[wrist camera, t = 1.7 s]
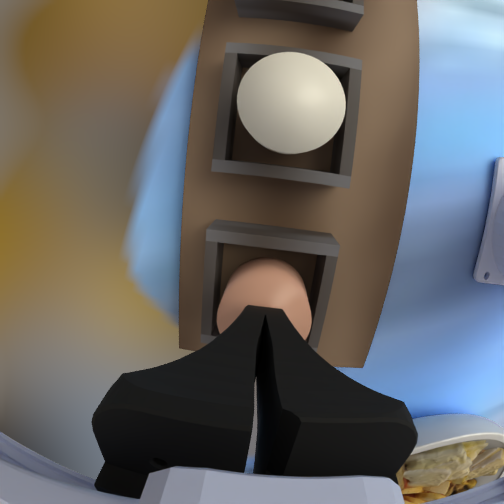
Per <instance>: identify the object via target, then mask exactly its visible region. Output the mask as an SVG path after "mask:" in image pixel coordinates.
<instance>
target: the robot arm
mask: <svg viewBox="0 0 504 504" xmlns="http://www.w3.org/2000/svg"><path fill="white" fill-rule="evenodd" d="M485 273H486V276H485V277H484V275H485ZM473 277H474V279H475V280H476V281H477V282H480V283H488V284H497V285H504V157H498V158H497V159H496V162H495V169H494V177H493V185H492V192H491V198H490V204H489V210H488V215H487V220H486V225H485V230H484V234H483V239H482V243H481V247H480V251H479V255H478V259H477V262H476V266H475V270H474V274H473ZM255 379H256V382H257V419H258V424H257V441H256V452H255V462H254V471H253V474H248V473H244V471H245V466H246V461H247V455H248V450H249V444H250V439H251V433H252V427H253V416H254V383H255ZM92 427H93V432H94V434H95V437H96V440H97V442H98V445H99V447H100V450H101V453H102V455H103V457H104V460H105V463H104V465H103V467H102V469H101V471H100V473H99V475H98V477H97V479H96V480H95V479H92V478H90V477H87V476H85V475H82V474H80V473H78V472H75V471H73V470H71V469H69V468H66V467H64V466H62V465H60V464H58V463H56V462H54V461H51V460H49V459H47V458H45V457H43V456H41V455H40V454H38V453H36V452H34V451H32V450H30V449H28V448H27V447H25V446H23V445H21V444H20V443H18V442H16V441H15V440H13V439H11V438H9V437H8V436H6V435H5V434H3V433H1V432H0V504H405V503H404V499H403V496H402V492H401V489H400V486H399V483H398V479H397V476H396V473H397V472H398V471H399V469H400V468H401V467H402V465H403V464H404V463H405V461H406V460H407V459H408V457H409V456H410V454H411V453H412V452H413V450H414V448H415V446H416V444H417V440H418V432H417V430H416V427H415V425H414V422H413V420H412V417H411V415H410V413H409V411H408V409H407V407H406V405H405V404H404V402H402V401H399V400H397V399H394V398H391V397H389V396H386V395H383V394H381V393H378V392H376V391H374V390H372V389H369V388H367V387H365V386H363V385H361V384H360V383H358V382H356V381H354V380H352V379H351V378H349V377H348V376H346V375H345V374H343V373H342V372H340V371H339V370H337V369H336V368H334V367H333V366H332V365H330V364H329V363H328V362H327V361H326V360H324V359H323V358H322V357H321V356H320V355H319V354H318V353H316V352H315V351H314V350H313V349H312V347H311V346H310V345H309V344H308V343H307V342H306V341H305V340H304V339H303V337H302V336H301V335H300V334H299V332H298V331H297V330H296V328H295V327H294V326H293V324H292V323H291V321H290V320H289V318H288V317H287V315H286V313H285V312H284V311H283V309H279V308H271V307H262V306H254V305H247V306H246V307H245V308H244V310H243V311H242V312H241V314H240V315H239V316H238V317H237V318H236V320H235V321H234V322H233V323H232V324H231V325H230V326H229V327H228V328H227V329H226V330H224V331H223V332H222V333H221V334H220V335H219V336H217V337H216V338H215V339H214V340H212V341H211V342H210V343H208V344H207V345H205V346H204V347H202V348H201V349H199V350H197V351H195V352H193V353H191V354H189V355H187V356H185V357H183V358H181V359H178V360H176V361H173V362H170V363H167V364H164V365H161V366H158V367H154V368H150V369H146V370H140V371H135V372H130V373H123V374H122V375H121V376H120V377H119V379H118V380H117V381H116V382H115V383H114V384H113V385H112V387H111V388H110V390H109V391H108V392H107V394H106V395H105V397H104V398H103V400H102V401H101V403H100V405H99V406H98V408H97V409H96V411H95V412H94V414H93V418H92ZM421 504H504V477H502V478H499V479H497V480H494V481H492V482H489V483H487V484H484V485H481V486H479V487H476V488H473V489H470V490H467V491H464V492H461V493H458V494H455V495H451V496H448V497H445V498H441V499H437V500H433V501H430V502H425V503H421Z"/></svg>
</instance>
